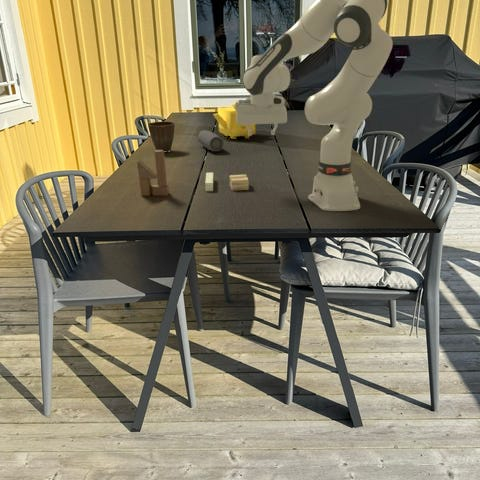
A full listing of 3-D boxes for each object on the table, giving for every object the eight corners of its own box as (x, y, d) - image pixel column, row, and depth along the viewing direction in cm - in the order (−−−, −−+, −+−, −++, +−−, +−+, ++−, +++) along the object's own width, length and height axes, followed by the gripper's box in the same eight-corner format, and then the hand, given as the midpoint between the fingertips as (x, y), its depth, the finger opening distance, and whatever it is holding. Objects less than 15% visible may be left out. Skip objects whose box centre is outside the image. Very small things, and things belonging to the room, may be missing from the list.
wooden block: (143, 193, 177) (138, 149, 170) (169, 193, 176) (165, 149, 169) (141, 196, 174) (135, 151, 166) (167, 195, 173) (163, 151, 166)
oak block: (248, 190, 178) (248, 179, 177) (231, 191, 178) (231, 180, 176) (246, 184, 186) (245, 174, 184) (229, 185, 185) (229, 175, 183)
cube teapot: (205, 135, 291) (203, 103, 282) (245, 131, 302) (244, 99, 293) (225, 144, 262) (224, 108, 253) (268, 139, 273) (269, 104, 264)
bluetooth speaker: (224, 152, 242) (224, 134, 238) (209, 154, 239) (208, 136, 235) (212, 145, 262) (211, 128, 258) (197, 146, 259) (196, 129, 255)
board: (212, 190, 178) (212, 182, 176) (205, 191, 177) (205, 183, 176) (213, 180, 192) (213, 172, 191) (206, 180, 192) (206, 172, 191)
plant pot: (179, 149, 254) (177, 121, 247) (173, 154, 240) (171, 125, 234) (155, 149, 255) (152, 121, 249) (147, 154, 242) (144, 125, 235)
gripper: (235, 100, 164) (236, 137, 170) (288, 99, 165) (287, 135, 171) (234, 99, 170) (235, 134, 176) (286, 97, 171) (285, 132, 176)
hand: (261, 135), depth 173 cm, fingers open, 8 cm apart
